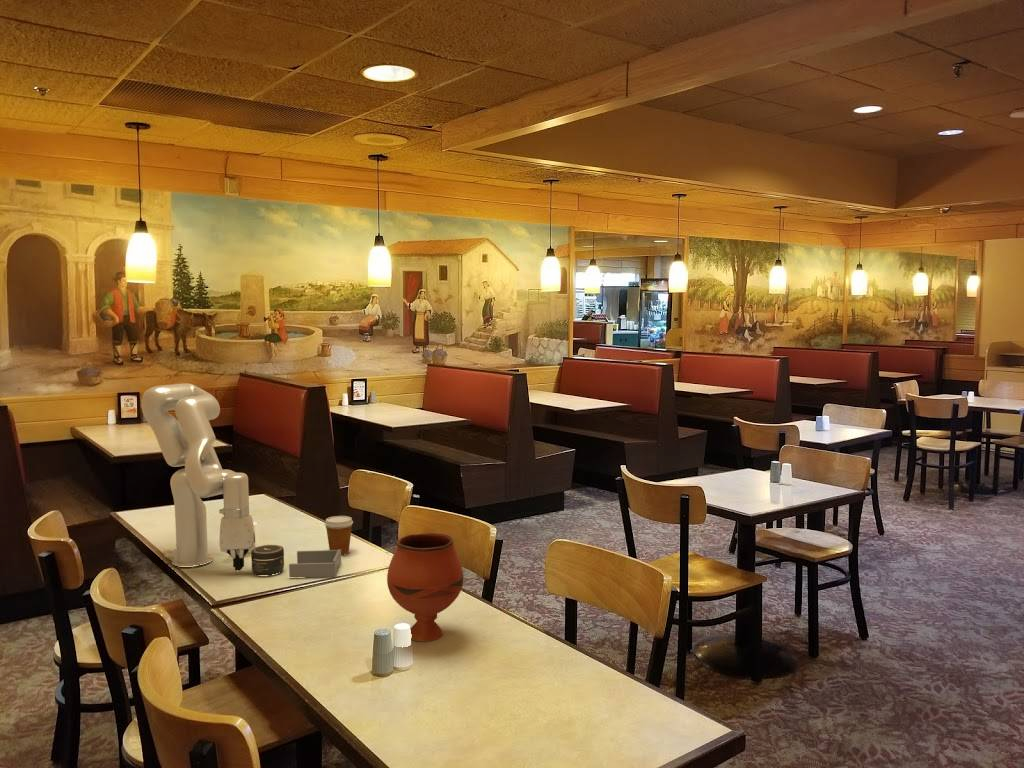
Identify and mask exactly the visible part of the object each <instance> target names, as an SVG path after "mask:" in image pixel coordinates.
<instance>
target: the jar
mask: <svg viewBox="0 0 1024 768" xmlns="http://www.w3.org/2000/svg"><path fill="white" fill-rule="evenodd" d="M255 547H256V549H255V550H252V551H251V552H250V553H251V556H250V558H251V570H252V573H253V574H254V575H255V574H256V575H272V574H276V573H279V572H281V571H282V570H284V568H285V550H284V549H285V548H284V546H282V545H278V544H264V545H259V546H255ZM282 572H283V571H282ZM282 572H281V573H282ZM256 575H255V576H256Z"/></svg>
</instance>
